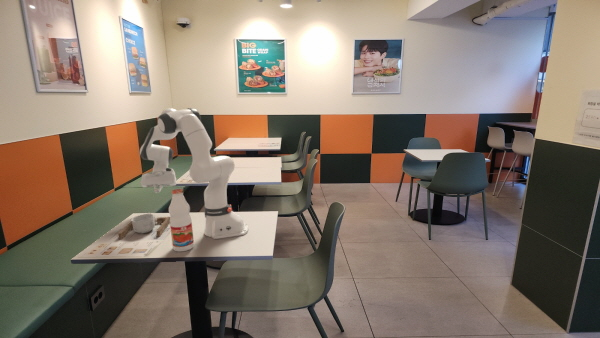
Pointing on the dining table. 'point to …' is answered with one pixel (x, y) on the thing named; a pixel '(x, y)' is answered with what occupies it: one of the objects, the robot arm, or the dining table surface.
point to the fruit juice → (180, 222)
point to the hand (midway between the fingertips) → (157, 192)
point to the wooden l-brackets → (165, 223)
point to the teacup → (143, 223)
